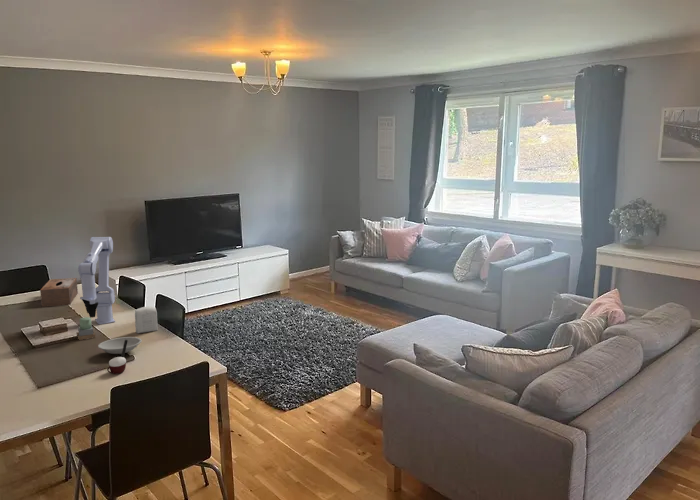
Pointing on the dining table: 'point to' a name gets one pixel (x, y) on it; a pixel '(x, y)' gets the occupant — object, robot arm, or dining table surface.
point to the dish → (119, 344)
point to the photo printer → (146, 319)
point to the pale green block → (85, 323)
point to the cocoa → (118, 362)
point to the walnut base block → (85, 336)
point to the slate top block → (85, 331)
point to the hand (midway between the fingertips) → (91, 314)
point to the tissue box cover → (59, 292)
